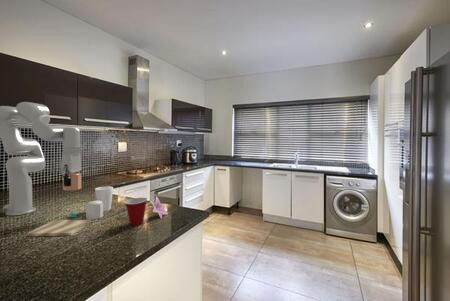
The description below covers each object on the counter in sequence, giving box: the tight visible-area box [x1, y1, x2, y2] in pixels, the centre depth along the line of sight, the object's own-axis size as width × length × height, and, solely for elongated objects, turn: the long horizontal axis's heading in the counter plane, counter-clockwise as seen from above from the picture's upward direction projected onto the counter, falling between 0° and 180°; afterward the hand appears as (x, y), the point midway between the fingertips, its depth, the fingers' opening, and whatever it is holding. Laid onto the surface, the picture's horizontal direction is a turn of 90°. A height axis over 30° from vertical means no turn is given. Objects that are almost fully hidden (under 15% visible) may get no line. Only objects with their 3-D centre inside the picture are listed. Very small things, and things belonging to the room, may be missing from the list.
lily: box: [149, 195, 168, 219], centre depth 119 cm, size 12×12×10 cm
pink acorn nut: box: [62, 172, 82, 191], centre depth 115 cm, size 7×7×8 cm
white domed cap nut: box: [85, 200, 104, 221], centre depth 116 cm, size 7×7×8 cm
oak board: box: [26, 219, 92, 237], centre depth 101 cm, size 18×16×1 cm
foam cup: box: [94, 186, 114, 212], centre depth 129 cm, size 10×9×13 cm
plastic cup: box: [123, 197, 148, 226], centre depth 108 cm, size 11×11×12 cm
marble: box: [69, 211, 77, 219], centre depth 115 cm, size 3×3×3 cm
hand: (72, 184), depth 115 cm, fingers closed on pink acorn nut, 7 cm apart
